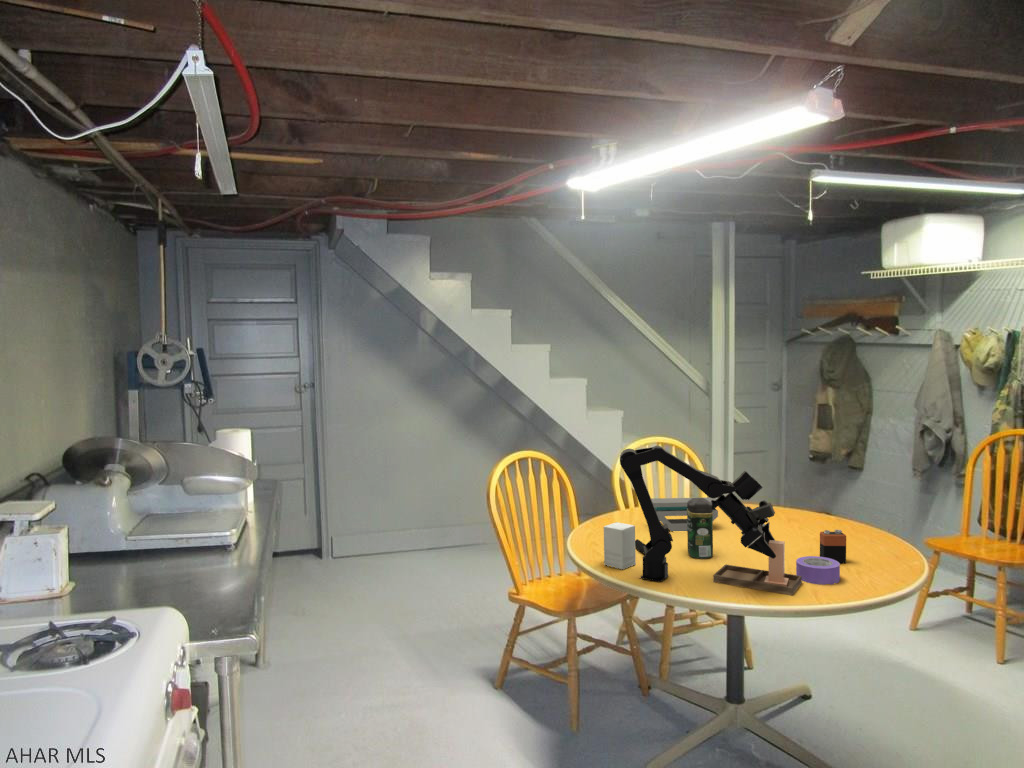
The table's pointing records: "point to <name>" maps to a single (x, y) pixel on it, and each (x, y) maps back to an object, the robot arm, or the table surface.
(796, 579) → the divided tray
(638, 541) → the electric trimmer
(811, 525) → the table surface
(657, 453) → the robot arm
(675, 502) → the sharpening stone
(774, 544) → the pink post on base
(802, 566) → the tape roll
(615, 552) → the supplement box
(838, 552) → the battery
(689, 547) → the coffee jar
